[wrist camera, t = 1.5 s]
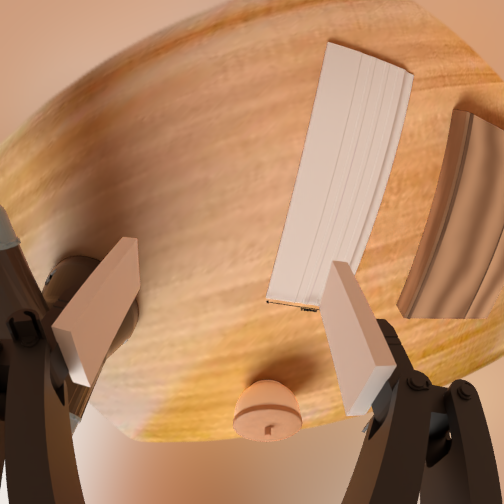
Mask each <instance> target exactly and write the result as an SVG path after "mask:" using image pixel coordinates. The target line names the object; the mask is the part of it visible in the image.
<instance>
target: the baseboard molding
mask: <svg viewBox="0 0 504 504" xmlns="http://www.w3.org/2000/svg"><path fill="white" fill-rule="evenodd" d="M413 78H414V75H413V74H410V73H408V72H407V71H406V70H405V69H402V68H400V67H397V66H395V65H392V64H390V63H388V62H385V61H382V60H380V59H377V58H375V57H373V56H369V55H366V54H364V53H361V52H359V51H356V50H353V49H350V48H347V47H344V46H340V45H337V44H334V43H330V42H327V46H326V50H325V55H324V60H323V64H322V69H321V74H320V78H319V83H318V87H317V92H316V96H315V100H314V105H313V109H312V114H311V118H310V122H309V127H308V131H307V135H306V139H305V144H304V148H303V152H302V156H301V161H300V165H299V169H298V173H297V177H296V181H295V185H294V189H293V193H292V197H291V201H290V205H289V209H288V213H287V217H286V221H285V225H284V229H283V233H282V237H281V241H280V245H279V249H278V252H277V256H276V260H275V264H274V268H273V272H272V275H271V279H270V283H269V287H268V290H267V294H266V298H269V299H275V300H281V301H287V302H294V303H295V302H297V303H303V304H310V305H315V306H320V303H321V299H322V296H323V292H324V289H325V285H326V282H327V278H328V275H329V271H330V267H331V264H332V260H334V261H342V262H348V264H349V266H350V268H351V270H352V272H353V274H354V276H355V273H356V271H357V268H358V266H359V263H360V260H361V258H362V255H363V252H364V250H365V247H366V244H367V242H368V239H369V236H370V233H371V230H372V227H373V225H374V222H375V219H376V216H377V213H378V210H379V207H380V204H381V201H382V198H383V194H384V191H385V188H386V185H387V182H388V178H389V175H390V171H391V168H392V165H393V161H394V158H395V154H396V150H397V147H398V143H399V139H400V135H401V131H402V127H403V123H404V119H405V115H406V111H407V106H408V102H409V97H410V93H411V88H412V83H413ZM266 302H267V303H269V302H268V301H266ZM270 303H273V302H270ZM276 304H280V303H276ZM283 305H286V304H283ZM289 306H293V305H289ZM296 307H299V306H296ZM303 309H304V311H313V312H317V310H320V309H316V311H315V310H311V309H313V308H309V309H306V307H303V308H301V310H303Z"/></svg>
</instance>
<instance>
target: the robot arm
mask: <svg viewBox="0 0 504 504" xmlns="http://www.w3.org/2000/svg"><path fill="white" fill-rule="evenodd" d="M20 243H21V242H20V239H19V238H18V237H17V236H16V234H15V232H14V230H13V227H12V225H11V223H10V220H9V218H8V215H7V213H6V211H5V209H4V208H3V207H2V206H1V205H0V487H1V479H2V473H3V466H4V461H5V467H6V480H7V491H8V499H9V504H85V501H84V497H83V493H82V489H81V485H80V480H79V475H78V470H77V465H76V459H75V453H74V447H73V440H72V435H73V433H74V431H75V429H76V427H77V425H78V423H80V422H81V418H82V416H83V413H84V411H85V408H86V405H87V403H88V401H89V398H90V396H91V393H92V391H93V389H94V386H95V384H96V381H97V379H98V377H99V374H100V372H101V370H102V367H103V365H104V363H105V361H106V359H107V358H108V357H109V356H110V355H112V354H113V353H114V352H115V351H116V350H117V349H118V348H119V347H120V346H121V345H123V344H124V343H125V342H127V340H128V339H129V338H130V337H131V335H132V333H133V331H134V329H135V326H136V324H137V321H138V306H137V302H136V299H135V297H136V295H137V293H138V291H139V289H140V288H141V286H140V274H139V259H138V240H137V238H130V237H122V238H121V239H120V240H119V242H118V243H117V244H116V245H115V246H114V247H113V249H112V250H111V251H110V252H109V253H108V254H107V256H106V257H105V258H104V259H103V260H102V262H100V261H98V260H95V259H93V258H89V257H84V256H73V257H69V258H66V259H64V260H62V261H61V262H60V263H59V264H58V265H57V266H56V267H55V268H54V269H53V270H52V271H51V272H50V274H49V275H48V277H47V280H46V282H45V286H44V288H43V291H42V293H41V291H40V289H39V287H38V285H37V283H36V281H35V279H34V276H33V274H32V272H31V270H30V268H29V266H28V263H27V261H26V259H25V257H24V254H23V252H22V249H21V247H20V245H19V244H20ZM319 309H320V313H321V316H322V320H323V324H324V328H325V331H326V335H327V339H328V343H329V347H330V351H331V354H332V358H333V362H334V366H335V370H336V374H337V379H338V383H339V387H340V391H341V395H342V400H343V404H344V408H345V413H346V416H355V415H365V414H366V413H367V411H368V410H369V409H370V407H371V406H372V409H373V412H374V415H373V417H372V418H371V419H370V421H369V422H368V423H367V425H366V426H365V427H364V429H363V431H362V432H365V431H366V430H367V433H366V436H365V439H364V442H363V446H362V449H361V452H360V455H359V458H358V461H357V464H356V466H355V469H354V472H353V475H352V478H351V480H350V483H349V486H348V488H347V491H346V493H345V496H344V498H343V501H342V503H341V504H417V501H418V497H419V492H420V504H502V496H501V489H500V482H499V476H498V471H497V465H496V460H495V456H494V451H493V446H492V443H491V438H490V434H489V430H488V426H487V422H486V419H485V415H484V412H483V408H482V405H481V402H480V399H479V395H478V393H477V391H476V389H475V387H474V386H473V385H472V384H471V383H469V382H467V381H465V380H462V379H459V380H455V381H454V382H452V384H451V385H450V386H449V388H445V387H440V386H435V385H432V383H431V381H430V380H429V378H428V377H427V376H426V375H425V374H423V373H421V372H419V371H417V370H414V369H413V367H412V364H411V362H410V360H409V358H408V356H407V354H406V352H405V350H404V348H403V346H402V345H401V342H400V340H399V338H398V336H397V334H396V332H395V330H394V328H393V327H392V326H391V325H390V324H389V323H388V322H387V321H386V320H385V319H376V318H375V316H374V314H373V312H372V310H371V308H370V306H369V304H368V302H367V300H366V298H365V296H364V294H363V292H362V290H361V288H360V286H359V284H358V282H357V280H356V278H355V276H354V274H353V272H352V270H351V268H350V266H349V264H348V262H342V261H334V260H332V264H331V267H330V271H329V275H328V278H327V282H326V285H325V289H324V292H323V296H322V299H321V303H320V306H319ZM449 433H451V438H452V439H451V438H450V435H449Z"/></svg>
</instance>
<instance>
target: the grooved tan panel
mask: <svg viewBox="0 0 504 504" xmlns="http://www.w3.org/2000/svg"><path fill="white" fill-rule="evenodd" d="M503 286H504V130H502V129H500V128H499V127H497V126H495V125H493V124H491V123H489V122H487V121H485V120H484V119H482V118H480V117H478V116H476V115H474V114H472V113H469V112H467V111H461V110H454V109H453V112H452V119H451V125H450V130H449V136H448V141H447V146H446V151H445V155H444V160H443V164H442V169H441V173H440V177H439V181H438V185H437V189H436V192H435V196H434V200H433V203H432V207H431V210H430V214H429V217H428V220H427V223H426V227H425V230H424V233H423V236H422V239H421V242H420V245H419V248H418V251H417V254H416V256H415V259H414V262H413V265H412V267H411V270H410V273H409V275H408V278H407V280H406V283H405V285H404V288H403V290H402V293H401V295H400V298H399V300H398V302H397V307H398V309H399V310H400V312H401V314H402V316H403V317H404V318H407V319H410V318H431V319H487V317H488V315H489V314H490V312H491V310H492V308H493V306H494V304H495V302H496V300H497V298H498V296H499V294H500V292H501V290H502V288H503Z"/></svg>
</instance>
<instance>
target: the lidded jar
mask: <svg viewBox="0 0 504 504" xmlns="http://www.w3.org/2000/svg"><path fill="white" fill-rule="evenodd" d="M301 426H302V418H301V415H300V409H299V405H298V402H297V399H296V397H295V395H294V394H293V393H292V391H291V390H290V389H288V388H287V387H286V386H284V385H282V384H281V383H280V382H278V381H275V380H260V381H257V382H255V383H253V384H252V385H251V386H250V387H248V388H247V389H245V390H244V391H243V393H242V394H241V395H240V397H239V399H238V401H237V404H236V408H235V415H234V420H233V428H234V430H235V431H236V432H237V433H238V434H239V435H240V436H242V437H244V438H247V439H250V440H254V441H264V442H265V441H266V442H267V441H277V440H282V439H285V438H288V437H290V436H292V435H294V434H296V433H297V432H298V431H299V430H300V428H301Z"/></svg>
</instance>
